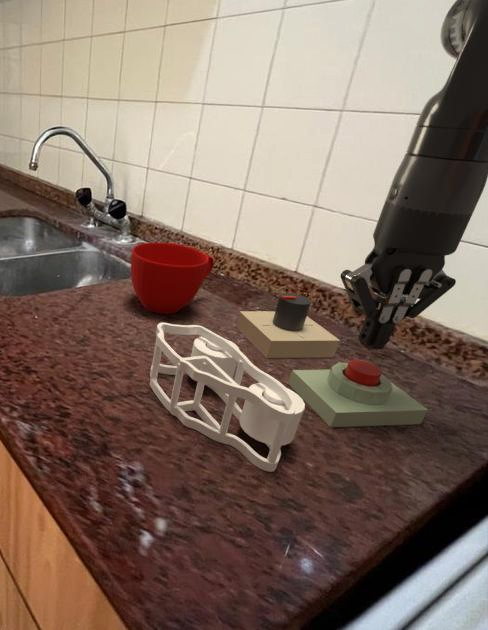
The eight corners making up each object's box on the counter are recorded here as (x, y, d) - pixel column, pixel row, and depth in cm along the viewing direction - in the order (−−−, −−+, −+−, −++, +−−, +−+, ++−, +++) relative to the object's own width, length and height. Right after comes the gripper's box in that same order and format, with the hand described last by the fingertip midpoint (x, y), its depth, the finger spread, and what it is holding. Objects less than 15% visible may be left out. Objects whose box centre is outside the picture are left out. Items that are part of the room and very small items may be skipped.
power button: (363, 371, 58) (367, 359, 57) (384, 387, 55) (389, 375, 54) (337, 371, 57) (342, 359, 56) (357, 388, 54) (362, 375, 53)
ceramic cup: (229, 312, 81) (242, 259, 76) (154, 327, 73) (163, 269, 69) (182, 286, 91) (191, 238, 87) (111, 297, 84) (117, 245, 79)
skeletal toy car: (312, 463, 47) (335, 406, 44) (221, 482, 44) (238, 422, 41) (207, 363, 64) (218, 317, 61) (136, 371, 61) (144, 323, 58)
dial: (293, 318, 73) (301, 291, 71) (308, 331, 69) (318, 302, 67) (267, 318, 72) (275, 290, 70) (281, 331, 68) (290, 302, 66)
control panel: (295, 327, 77) (301, 310, 76) (333, 357, 68) (340, 339, 67) (235, 327, 75) (239, 310, 74) (266, 358, 66) (271, 339, 65)
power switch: (367, 382, 62) (377, 357, 61) (420, 424, 54) (434, 397, 53) (287, 383, 61) (296, 358, 59) (330, 427, 53) (341, 399, 51)
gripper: (399, 209, 43) (340, 364, 50) (519, 213, 44) (445, 362, 52) (346, 193, 49) (302, 332, 57) (453, 197, 51) (395, 331, 59)
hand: (370, 346), depth 54 cm, fingers closed
